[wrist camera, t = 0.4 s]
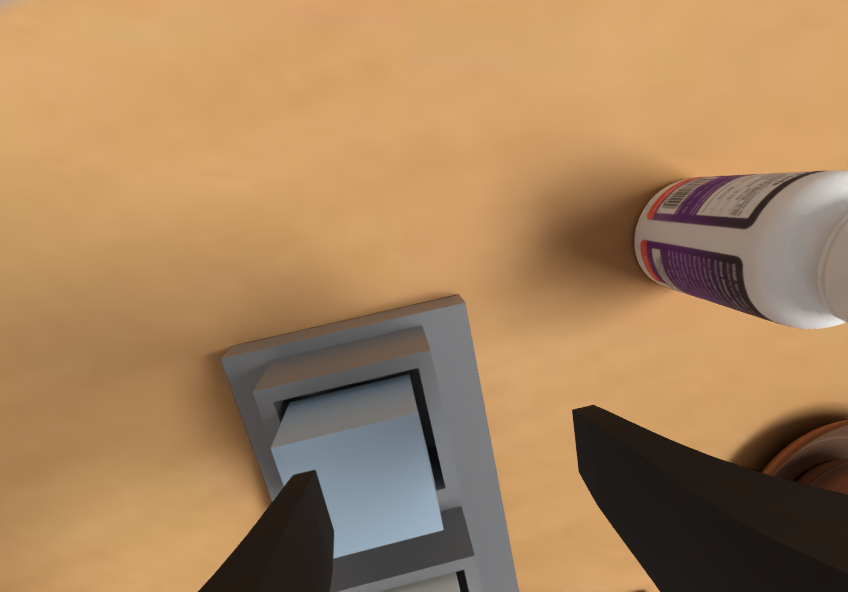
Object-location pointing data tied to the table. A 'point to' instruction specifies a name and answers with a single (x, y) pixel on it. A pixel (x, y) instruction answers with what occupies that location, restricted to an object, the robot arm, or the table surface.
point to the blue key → (363, 462)
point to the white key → (431, 585)
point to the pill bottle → (753, 244)
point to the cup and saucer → (816, 459)
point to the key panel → (440, 419)
